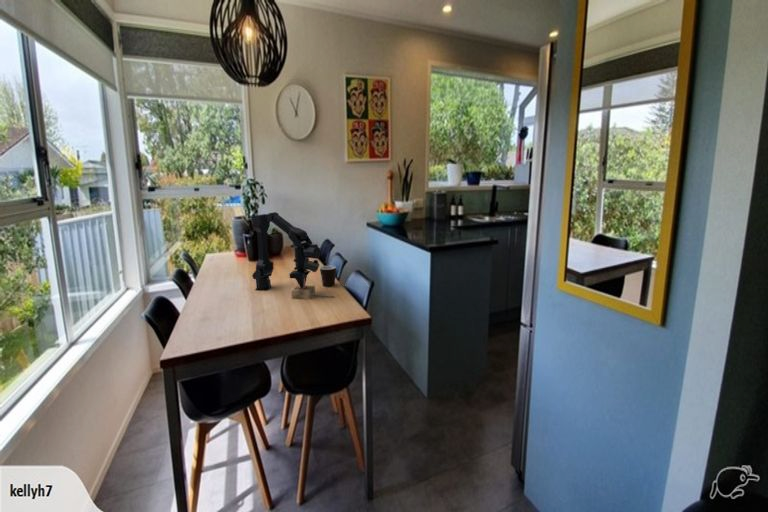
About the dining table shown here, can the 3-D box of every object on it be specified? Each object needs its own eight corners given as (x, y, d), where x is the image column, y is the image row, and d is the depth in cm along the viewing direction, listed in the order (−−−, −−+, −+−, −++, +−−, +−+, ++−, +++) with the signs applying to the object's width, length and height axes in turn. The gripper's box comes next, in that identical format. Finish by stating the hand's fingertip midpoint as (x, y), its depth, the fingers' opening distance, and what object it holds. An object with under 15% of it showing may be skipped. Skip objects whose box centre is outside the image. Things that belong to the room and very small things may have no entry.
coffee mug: (333, 288, 196) (332, 270, 193) (318, 287, 197) (317, 269, 195) (340, 281, 207) (339, 264, 204) (326, 280, 208) (325, 263, 206)
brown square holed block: (291, 298, 181) (291, 291, 180) (298, 292, 189) (297, 285, 188) (309, 299, 180) (309, 291, 179) (315, 293, 188) (314, 285, 188)
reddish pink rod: (300, 292, 183) (299, 275, 181) (301, 290, 185) (300, 273, 183) (305, 292, 183) (303, 275, 181) (306, 290, 185) (305, 273, 183)
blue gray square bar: (313, 296, 184) (313, 295, 184) (314, 295, 185) (314, 294, 185) (333, 297, 181) (333, 297, 181) (334, 297, 182) (334, 296, 182)
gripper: (311, 261, 170) (313, 293, 174) (322, 252, 188) (323, 281, 192) (287, 261, 171) (290, 293, 175) (300, 252, 189) (303, 281, 193)
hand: (302, 286), depth 184 cm, fingers closed on reddish pink rod, 2 cm apart
